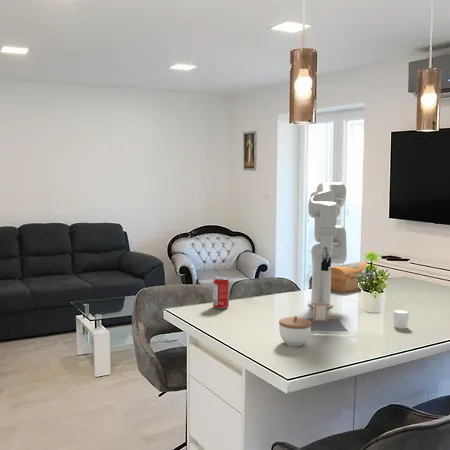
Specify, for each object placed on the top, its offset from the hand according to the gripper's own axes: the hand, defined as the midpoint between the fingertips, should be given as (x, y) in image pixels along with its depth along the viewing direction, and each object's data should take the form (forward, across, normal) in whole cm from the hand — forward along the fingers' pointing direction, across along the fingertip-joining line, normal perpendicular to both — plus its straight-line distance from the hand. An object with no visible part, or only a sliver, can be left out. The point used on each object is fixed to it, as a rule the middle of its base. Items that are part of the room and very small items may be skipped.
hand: (325, 268), depth 251 cm
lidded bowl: (+24, +38, -7) cm, 46 cm away
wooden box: (+26, -84, +5) cm, 88 cm away
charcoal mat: (+24, +8, 0) cm, 25 cm away
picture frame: (+24, +2, -1) cm, 24 cm away
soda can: (+25, -7, -51) cm, 57 cm away
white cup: (+25, -4, +34) cm, 42 cm away
